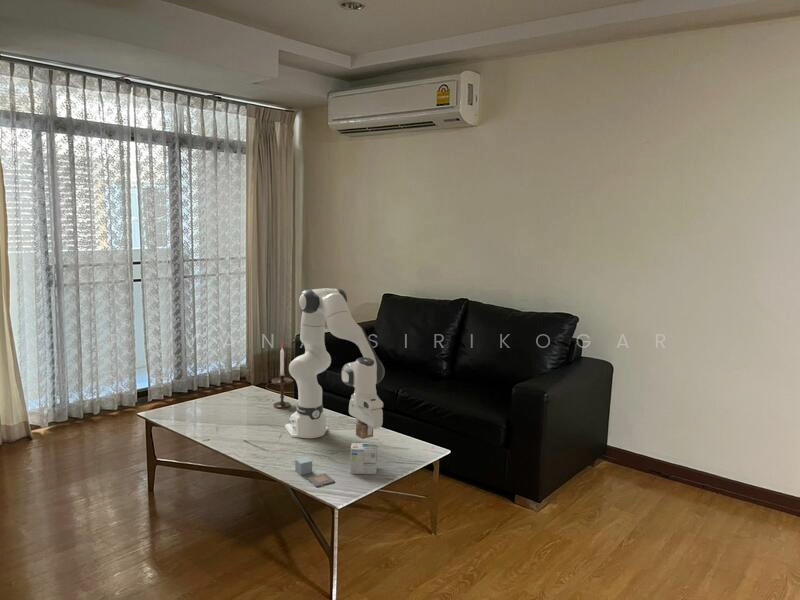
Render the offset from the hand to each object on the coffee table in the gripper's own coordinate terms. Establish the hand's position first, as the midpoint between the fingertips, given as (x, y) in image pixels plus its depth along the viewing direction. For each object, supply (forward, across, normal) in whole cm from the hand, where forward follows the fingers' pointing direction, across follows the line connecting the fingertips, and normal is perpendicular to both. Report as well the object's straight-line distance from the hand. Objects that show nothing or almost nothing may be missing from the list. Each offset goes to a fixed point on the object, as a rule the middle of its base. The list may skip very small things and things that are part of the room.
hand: (364, 431), depth 234 cm
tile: (+16, -1, -19) cm, 25 cm away
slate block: (+17, -12, -21) cm, 29 cm away
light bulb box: (+17, 0, 0) cm, 17 cm away
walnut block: (+2, 0, 0) cm, 2 cm away
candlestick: (+16, -91, +5) cm, 93 cm away
